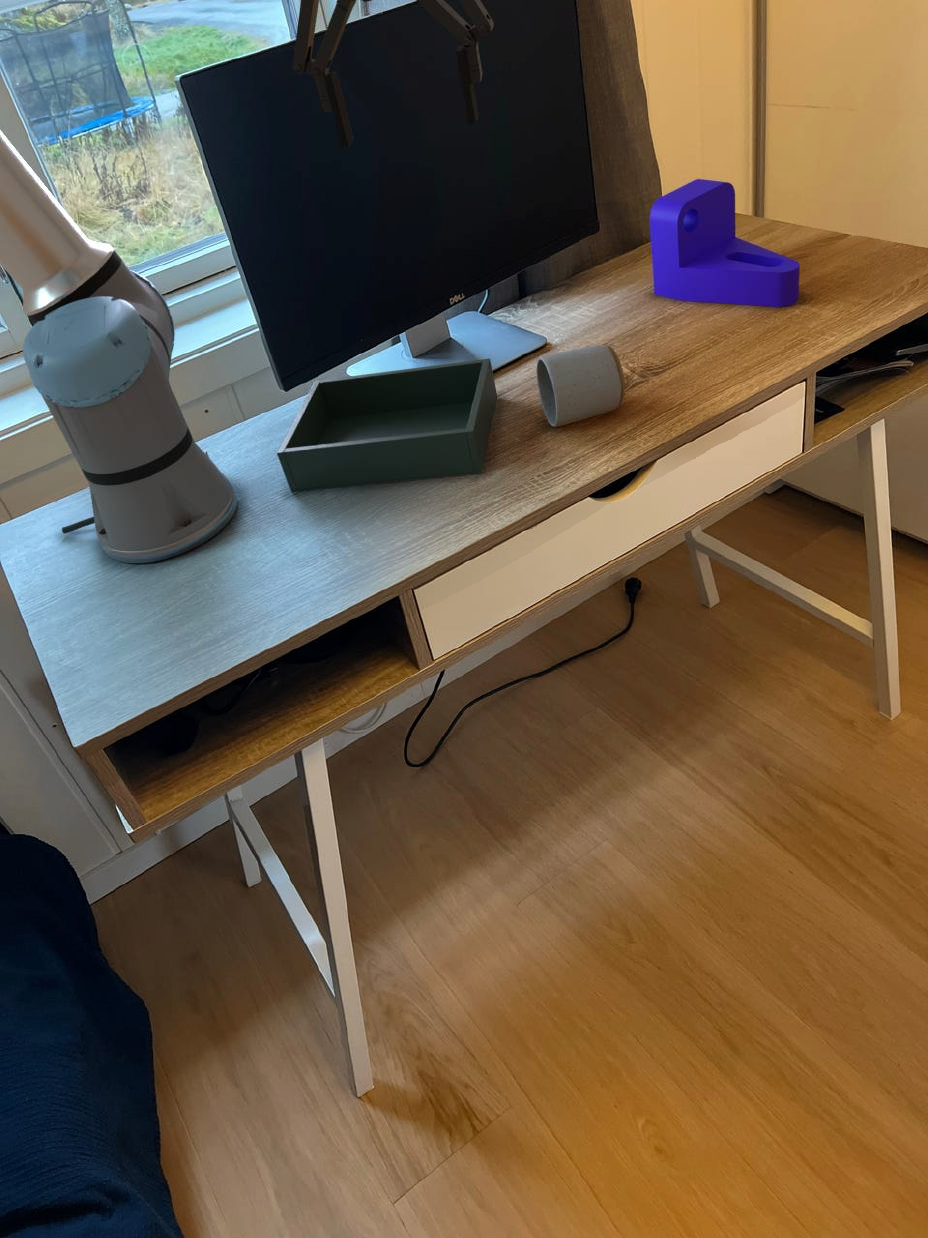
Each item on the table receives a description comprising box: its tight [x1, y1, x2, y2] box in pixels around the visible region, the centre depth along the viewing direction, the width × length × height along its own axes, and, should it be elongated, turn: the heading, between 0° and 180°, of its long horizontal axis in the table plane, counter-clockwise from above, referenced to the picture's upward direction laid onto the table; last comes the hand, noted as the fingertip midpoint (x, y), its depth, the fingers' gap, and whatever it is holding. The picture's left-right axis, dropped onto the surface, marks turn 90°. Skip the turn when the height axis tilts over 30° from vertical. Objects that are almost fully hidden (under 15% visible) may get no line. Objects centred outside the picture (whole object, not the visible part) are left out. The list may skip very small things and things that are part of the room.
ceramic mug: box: [535, 344, 626, 428], centre depth 102 cm, size 11×8×8 cm
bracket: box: [649, 178, 801, 308], centre depth 116 cm, size 18×11×12 cm, turn 38°
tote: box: [276, 357, 498, 493], centre depth 105 cm, size 22×17×5 cm
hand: (410, 132), depth 96 cm, fingers open, 13 cm apart
